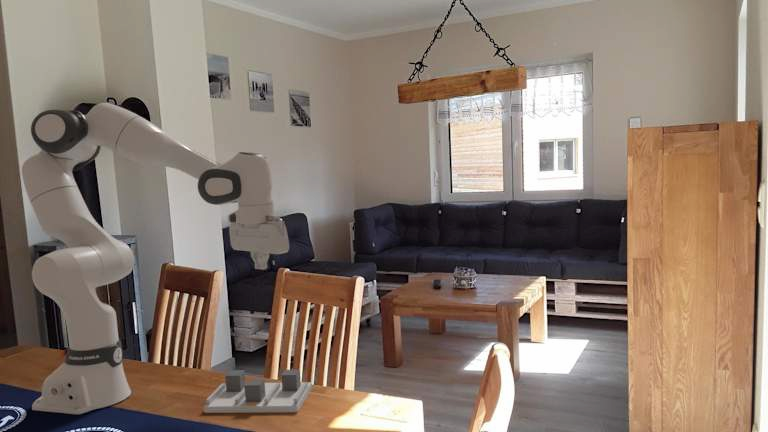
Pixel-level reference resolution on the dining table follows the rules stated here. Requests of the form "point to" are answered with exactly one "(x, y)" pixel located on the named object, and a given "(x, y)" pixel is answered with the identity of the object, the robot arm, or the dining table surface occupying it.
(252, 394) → the grey cubic block
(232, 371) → the gray cube
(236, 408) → the switch board
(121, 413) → the dining table surface
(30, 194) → the robot arm
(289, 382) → the grey cube
